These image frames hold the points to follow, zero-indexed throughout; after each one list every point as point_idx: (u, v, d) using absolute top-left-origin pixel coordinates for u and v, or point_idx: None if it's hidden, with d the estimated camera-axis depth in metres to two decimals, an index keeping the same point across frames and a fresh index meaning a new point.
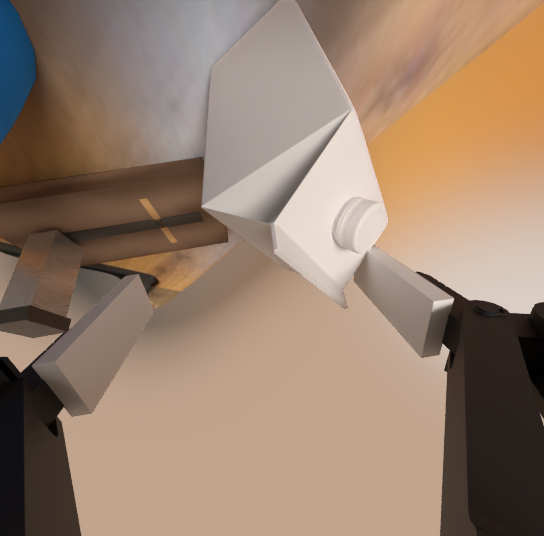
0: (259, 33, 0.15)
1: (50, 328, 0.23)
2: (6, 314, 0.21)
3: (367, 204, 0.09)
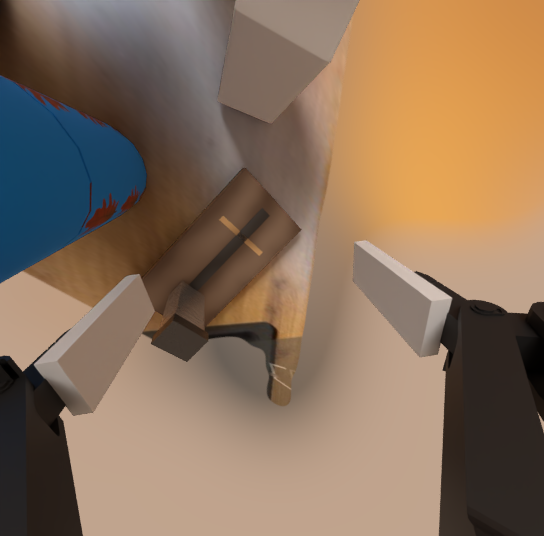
0: None
1: (194, 335, 0.25)
2: (162, 327, 0.25)
3: None
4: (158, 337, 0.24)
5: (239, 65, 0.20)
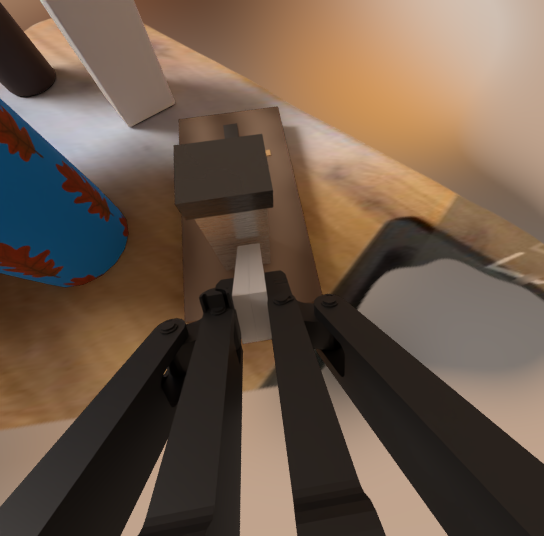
0: (102, 90, 0.30)
1: (230, 143, 0.12)
2: None
3: None
4: (176, 186, 0.11)
5: (81, 32, 0.22)
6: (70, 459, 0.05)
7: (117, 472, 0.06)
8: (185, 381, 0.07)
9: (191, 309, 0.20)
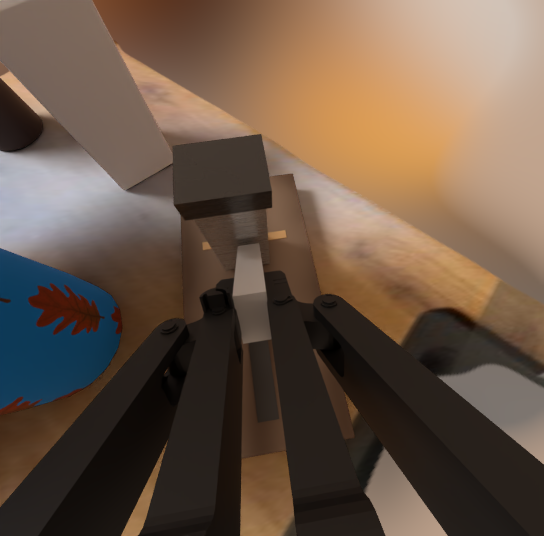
0: None
1: (229, 143, 0.12)
2: None
3: None
4: (176, 186, 0.11)
5: (66, 107, 0.19)
6: (70, 459, 0.05)
7: (118, 472, 0.06)
8: (186, 381, 0.07)
9: None
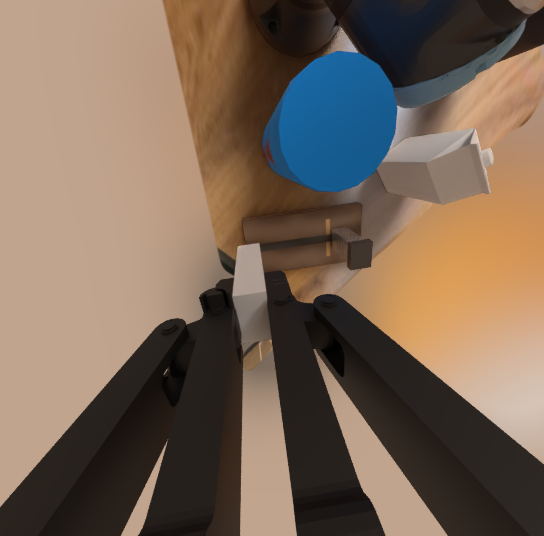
0: (401, 146, 0.42)
1: (369, 258, 0.39)
2: (359, 241, 0.38)
3: (487, 149, 0.30)
4: (357, 244, 0.38)
5: (404, 169, 0.37)
6: (71, 458, 0.05)
7: (117, 472, 0.06)
8: (185, 381, 0.07)
9: (247, 223, 0.45)
